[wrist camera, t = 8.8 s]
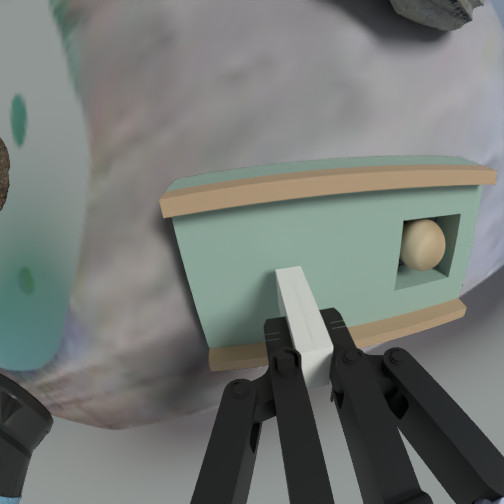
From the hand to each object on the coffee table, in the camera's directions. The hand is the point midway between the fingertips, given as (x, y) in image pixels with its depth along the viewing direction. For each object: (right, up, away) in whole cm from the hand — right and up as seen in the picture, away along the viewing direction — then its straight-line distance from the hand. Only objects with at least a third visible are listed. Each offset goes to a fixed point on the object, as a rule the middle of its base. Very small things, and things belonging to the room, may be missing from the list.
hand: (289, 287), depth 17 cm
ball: (+10, +3, +2) cm, 11 cm away
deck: (+5, +3, +4) cm, 6 cm away
